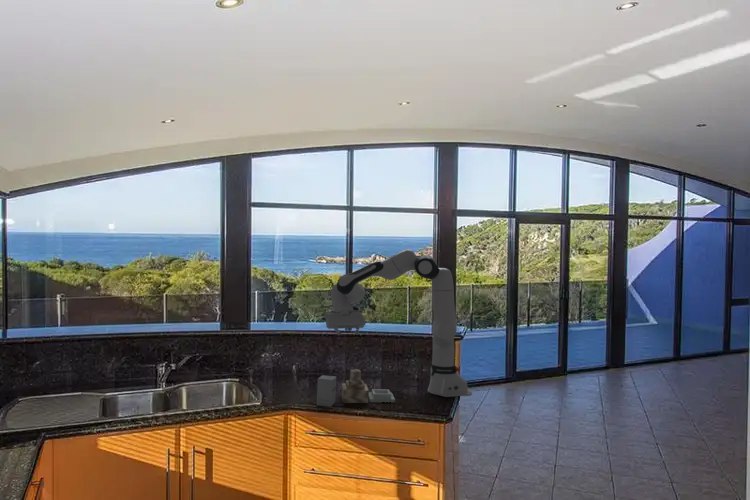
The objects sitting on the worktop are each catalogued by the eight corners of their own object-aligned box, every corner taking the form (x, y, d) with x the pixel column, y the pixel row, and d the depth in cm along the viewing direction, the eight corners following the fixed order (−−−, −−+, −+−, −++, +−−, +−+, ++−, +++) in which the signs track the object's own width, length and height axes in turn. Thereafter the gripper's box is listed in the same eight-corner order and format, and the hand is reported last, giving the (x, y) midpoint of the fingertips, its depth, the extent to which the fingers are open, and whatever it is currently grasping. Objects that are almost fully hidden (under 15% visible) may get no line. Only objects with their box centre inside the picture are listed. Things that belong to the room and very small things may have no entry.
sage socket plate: (391, 395, 300) (391, 388, 300) (395, 402, 288) (395, 395, 288) (367, 395, 298) (367, 388, 298) (370, 402, 287) (370, 395, 286)
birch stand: (365, 395, 297) (366, 379, 297) (368, 403, 285) (368, 386, 285) (341, 395, 296) (342, 379, 296) (342, 402, 284) (343, 386, 284)
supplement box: (331, 407, 277) (332, 380, 276) (316, 405, 278) (317, 378, 278) (335, 402, 284) (336, 376, 283) (320, 401, 285) (321, 374, 285)
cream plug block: (357, 385, 293) (358, 369, 293) (360, 387, 289) (361, 371, 289) (349, 386, 292) (350, 369, 291) (352, 388, 288) (353, 371, 288)
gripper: (325, 308, 304) (330, 331, 295) (363, 307, 311) (369, 330, 303) (322, 315, 308) (327, 338, 299) (359, 315, 316) (365, 337, 307)
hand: (348, 334), depth 301 cm, fingers open, 8 cm apart
